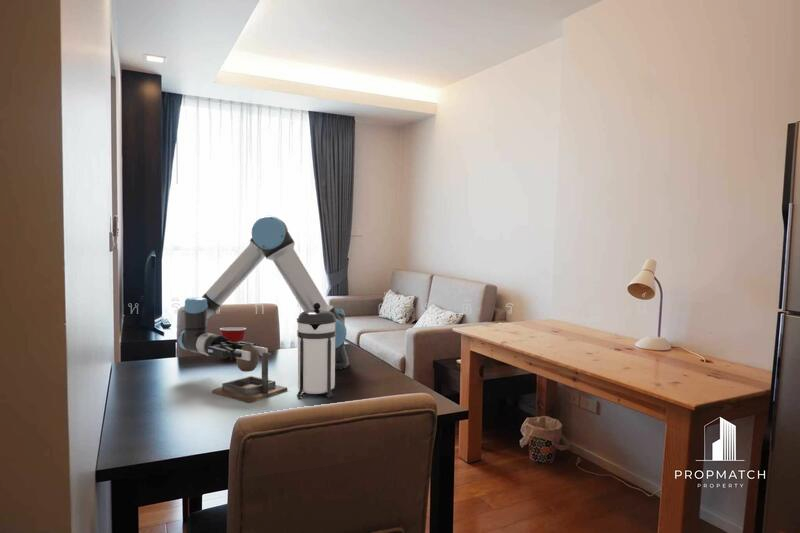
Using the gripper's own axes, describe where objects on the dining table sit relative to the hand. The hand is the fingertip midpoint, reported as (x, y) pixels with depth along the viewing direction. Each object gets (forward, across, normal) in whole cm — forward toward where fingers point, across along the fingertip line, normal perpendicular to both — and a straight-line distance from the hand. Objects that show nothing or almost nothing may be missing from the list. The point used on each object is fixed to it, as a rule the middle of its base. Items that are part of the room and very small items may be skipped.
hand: (258, 354), depth 166 cm
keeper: (-5, 0, -13) cm, 14 cm away
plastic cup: (-52, -32, -14) cm, 62 cm away
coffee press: (+14, -12, -13) cm, 23 cm away
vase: (-5, 0, -6) cm, 8 cm away
